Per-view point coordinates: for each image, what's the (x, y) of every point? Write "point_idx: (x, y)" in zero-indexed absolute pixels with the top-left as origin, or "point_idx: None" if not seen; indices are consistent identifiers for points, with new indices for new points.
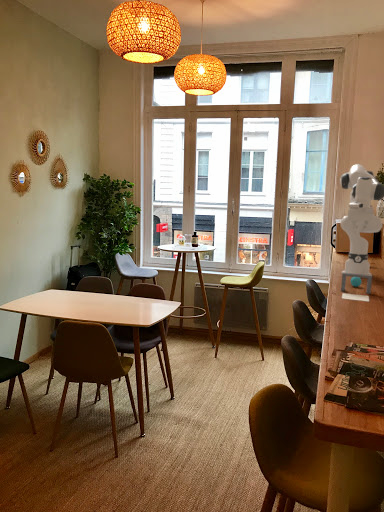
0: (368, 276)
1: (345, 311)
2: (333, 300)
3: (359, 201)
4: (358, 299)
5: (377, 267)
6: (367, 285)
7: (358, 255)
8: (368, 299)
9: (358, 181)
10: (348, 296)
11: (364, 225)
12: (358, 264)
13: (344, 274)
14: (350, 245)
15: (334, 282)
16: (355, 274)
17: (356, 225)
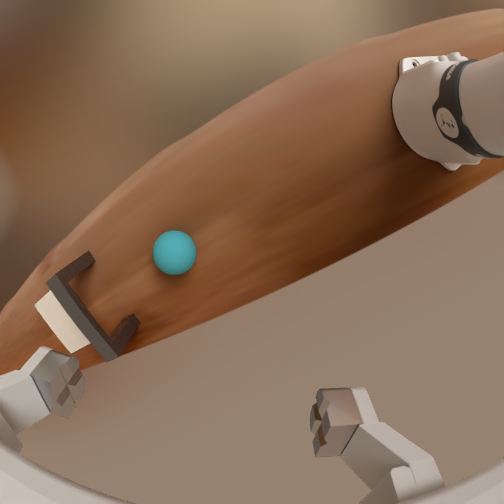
0: (100, 352)
1: (5, 345)
2: (15, 300)
3: None
4: (59, 333)
5: None
6: (112, 334)
7: (459, 122)
8: (79, 347)
9: None
10: (55, 306)
11: (358, 430)
12: (433, 128)
13: (51, 287)
14: (491, 58)
15: (173, 151)
16: (75, 317)
17: (43, 413)
